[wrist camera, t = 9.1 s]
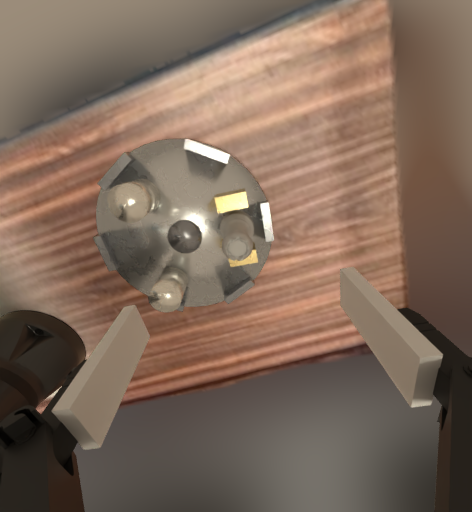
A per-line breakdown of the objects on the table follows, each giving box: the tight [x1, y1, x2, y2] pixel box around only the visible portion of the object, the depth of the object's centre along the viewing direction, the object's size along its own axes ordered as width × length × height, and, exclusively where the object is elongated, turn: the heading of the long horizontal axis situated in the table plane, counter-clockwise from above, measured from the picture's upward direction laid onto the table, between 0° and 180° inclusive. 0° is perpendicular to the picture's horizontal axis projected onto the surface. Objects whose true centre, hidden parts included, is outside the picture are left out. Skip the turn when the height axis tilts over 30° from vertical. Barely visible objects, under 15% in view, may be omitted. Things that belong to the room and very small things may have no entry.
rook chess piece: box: [220, 210, 254, 261], centre depth 27 cm, size 4×4×8 cm
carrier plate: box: [93, 139, 274, 312], centre depth 29 cm, size 23×23×6 cm
